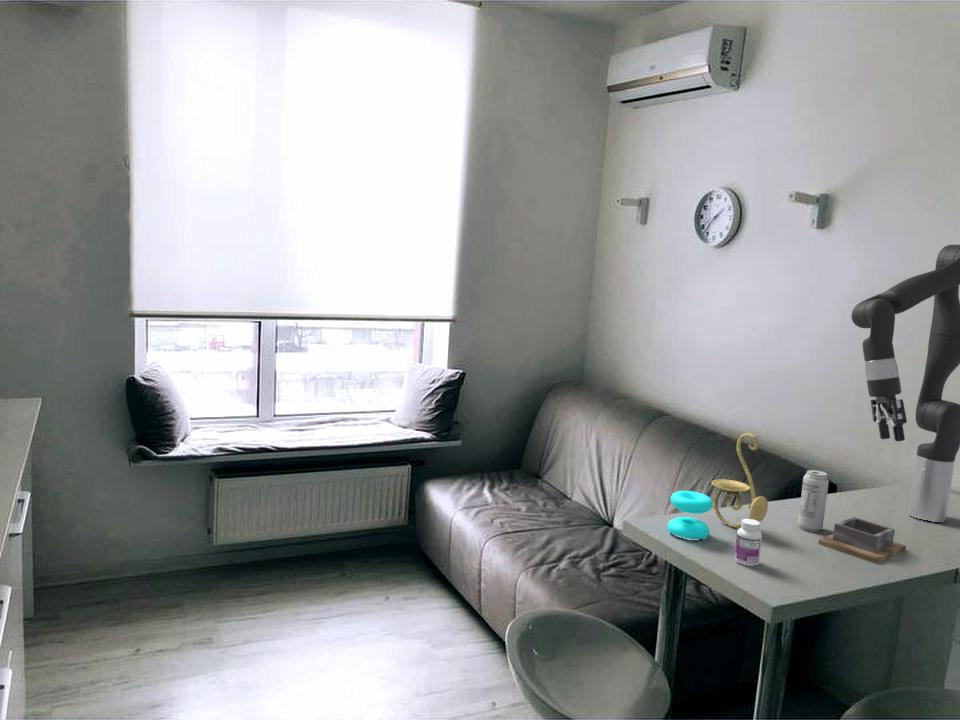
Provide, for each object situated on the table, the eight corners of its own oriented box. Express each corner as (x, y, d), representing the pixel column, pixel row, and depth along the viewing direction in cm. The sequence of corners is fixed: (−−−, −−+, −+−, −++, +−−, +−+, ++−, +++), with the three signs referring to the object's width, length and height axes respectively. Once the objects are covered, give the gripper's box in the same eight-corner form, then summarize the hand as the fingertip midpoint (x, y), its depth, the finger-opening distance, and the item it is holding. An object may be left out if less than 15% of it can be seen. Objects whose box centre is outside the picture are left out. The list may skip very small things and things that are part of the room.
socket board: (849, 532, 206) (851, 512, 205) (905, 550, 195) (908, 529, 195) (818, 543, 196) (820, 523, 195) (876, 563, 185) (879, 542, 184)
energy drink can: (827, 532, 205) (835, 475, 203) (808, 533, 203) (815, 476, 201) (811, 523, 210) (818, 468, 208) (792, 525, 209) (799, 469, 206)
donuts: (722, 499, 193) (691, 504, 188) (717, 539, 194) (687, 544, 189) (692, 487, 202) (662, 491, 197) (688, 525, 203) (658, 530, 198)
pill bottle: (736, 555, 184) (741, 515, 183) (760, 561, 182) (765, 520, 180) (731, 563, 180) (736, 521, 178) (755, 569, 177) (760, 527, 176)
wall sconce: (768, 533, 201) (780, 436, 197) (744, 539, 195) (756, 440, 192) (722, 516, 212) (733, 424, 208) (699, 521, 206) (709, 427, 203)
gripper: (910, 374, 197) (920, 439, 197) (885, 375, 212) (895, 436, 211) (879, 378, 198) (889, 443, 197) (856, 379, 212) (866, 439, 211)
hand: (892, 439), depth 204 cm, fingers open, 8 cm apart
